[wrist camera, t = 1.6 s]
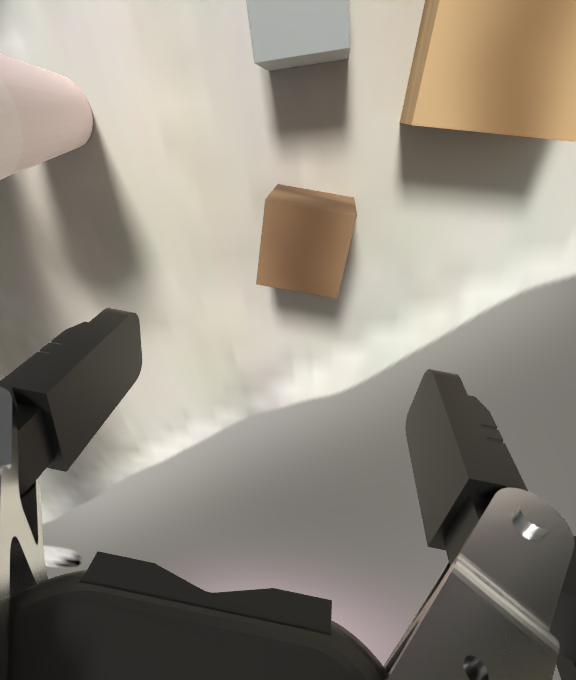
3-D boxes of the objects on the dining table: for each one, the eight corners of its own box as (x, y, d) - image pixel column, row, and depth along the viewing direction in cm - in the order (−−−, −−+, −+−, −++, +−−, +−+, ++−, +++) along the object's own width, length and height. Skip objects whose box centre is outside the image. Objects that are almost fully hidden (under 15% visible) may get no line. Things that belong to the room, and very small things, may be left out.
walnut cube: (269, 257, 25) (256, 284, 21) (278, 184, 22) (265, 199, 18) (337, 269, 25) (337, 299, 21) (354, 197, 22) (357, 215, 18)
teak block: (399, 122, 20) (411, 125, 17) (437, -63, 16) (463, -109, 13) (534, 136, 20) (575, 141, 16) (604, -51, 16) (676, -94, 13)
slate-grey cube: (269, 71, 20) (254, 62, 16) (257, -34, 18) (237, -70, 14) (348, 59, 19) (349, 47, 15) (345, -52, 17) (345, -93, 13)
